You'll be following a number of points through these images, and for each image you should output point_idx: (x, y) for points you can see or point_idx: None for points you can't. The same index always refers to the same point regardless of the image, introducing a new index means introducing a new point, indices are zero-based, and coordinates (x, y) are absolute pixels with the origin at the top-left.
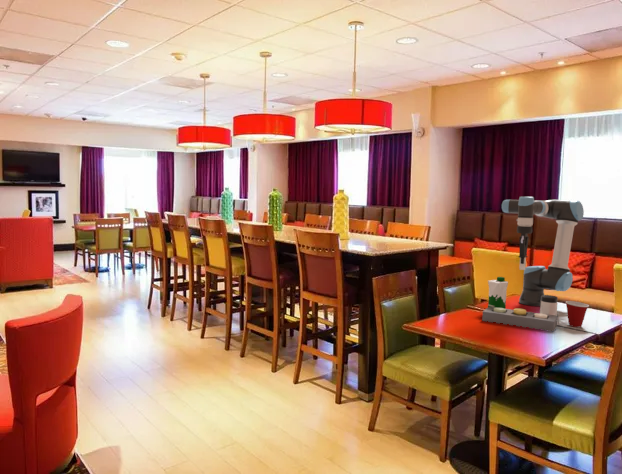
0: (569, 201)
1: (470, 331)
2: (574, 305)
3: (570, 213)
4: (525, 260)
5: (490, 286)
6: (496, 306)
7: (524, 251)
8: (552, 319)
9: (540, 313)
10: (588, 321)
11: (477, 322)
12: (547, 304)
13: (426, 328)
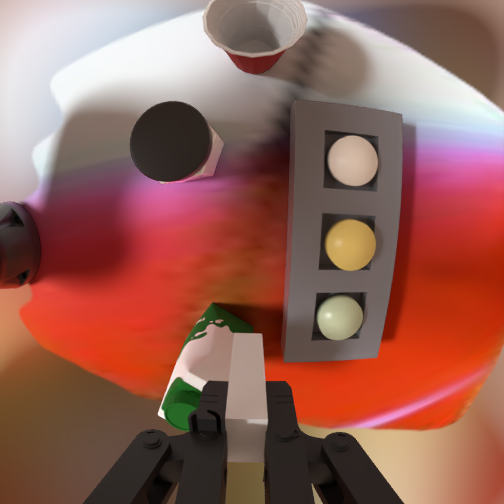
0: None
1: (473, 327)
2: (305, 24)
3: None
4: (250, 394)
5: None
6: None
7: (383, 493)
8: (374, 118)
9: (335, 163)
10: (157, 33)
11: (390, 345)
12: (214, 144)
13: (469, 397)
